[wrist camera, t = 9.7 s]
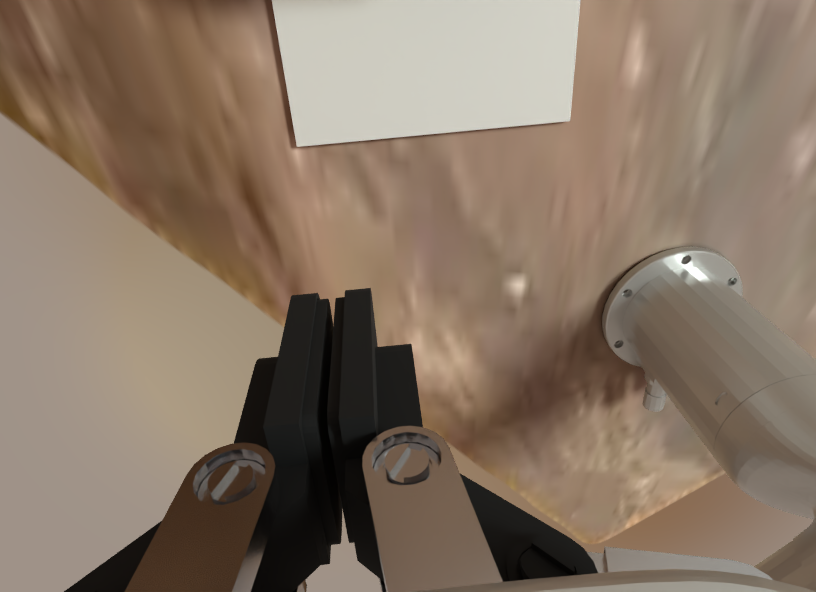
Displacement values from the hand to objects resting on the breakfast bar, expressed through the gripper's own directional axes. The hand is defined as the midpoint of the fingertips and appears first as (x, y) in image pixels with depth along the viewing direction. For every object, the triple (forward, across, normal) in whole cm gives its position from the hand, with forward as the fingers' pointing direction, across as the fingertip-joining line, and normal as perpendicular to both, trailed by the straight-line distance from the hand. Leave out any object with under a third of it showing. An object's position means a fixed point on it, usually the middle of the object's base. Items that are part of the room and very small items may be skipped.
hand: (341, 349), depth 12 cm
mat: (+31, -6, -5) cm, 32 cm away
